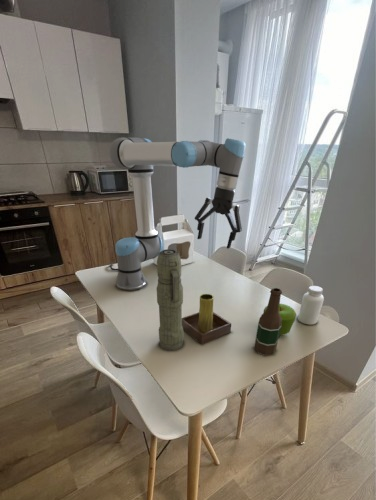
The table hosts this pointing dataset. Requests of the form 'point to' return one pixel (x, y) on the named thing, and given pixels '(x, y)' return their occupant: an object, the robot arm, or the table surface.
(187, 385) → the table surface
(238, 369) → the table surface
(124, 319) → the table surface
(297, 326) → the table surface
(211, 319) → the vase
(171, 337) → the thermos
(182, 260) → the gable box
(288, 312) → the apple
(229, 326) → the tray
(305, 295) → the pill bottle
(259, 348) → the beer bottle
